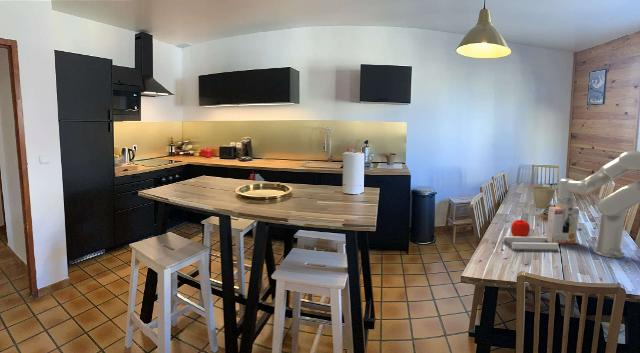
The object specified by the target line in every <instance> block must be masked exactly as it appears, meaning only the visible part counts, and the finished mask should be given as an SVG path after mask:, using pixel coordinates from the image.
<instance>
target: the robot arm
mask: <svg viewBox="0 0 640 353" xmlns="http://www.w3.org/2000/svg"><path fill="white" fill-rule="evenodd" d="M633 170H635V171H636V170H637V171H640V151H639V150H628V151H625V152H623V153H621V154H619V156H618V157H616V158H615V159H613V160H611V161H609V162H608V163H606V164H604V165H602V166H601V167H600V168H599V169H598V170H597V171H596V172H595V173H593V174H591V175H589V176H588V177H586V178H584V179H581V180H575V179H573V178H564V177H562V178H560V180H558V181H559V182H558V188H557V199H556V205H555V207H560V208H562V209H563V221H564V226H563V231H562V232H563V233H569V226H570V225H571V224H572V223H573V218H574V207H575V206H574V198H575V194H577V195H580V196H581V195H586V194H589V193H592V192H593V191H595V190H597V189H598V188H601V187H602V186H604V185H606V184H608V183H609V182H612V181H615V180H616V179H618V178H620V177H622V176H623V175H625V174H627V173H629V172H631V171H633ZM638 204H640V178H639V179H638V180H636V181H634V182H632V183H629V184H626V185H624V186H622V187H621V188H618V189H616V190H615V191H613V192H612V193H610V194H609V195H607V196H606V197H604V198H602V199H601V200H600V201H599V202H598V204H597V209H598V212H599V213H600V214H601V217H600V223H599V227H598V228H599V229H598V237H597V242H596V244H597V245H596V247H593V248H592V252H593V253H595V254H597V255H599V256H602V257H605V258H611V259H612V258H613V259H621V258H624V256H625V253H624V252H622V248H621V245H622V238H623V231H624V225H625V220H626V219H625V218H626V215H627V211H628V210H629V209H631V208H632V207H634V206H636V205H638ZM566 220H568V221H566ZM566 222H567V223H566Z"/></svg>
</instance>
